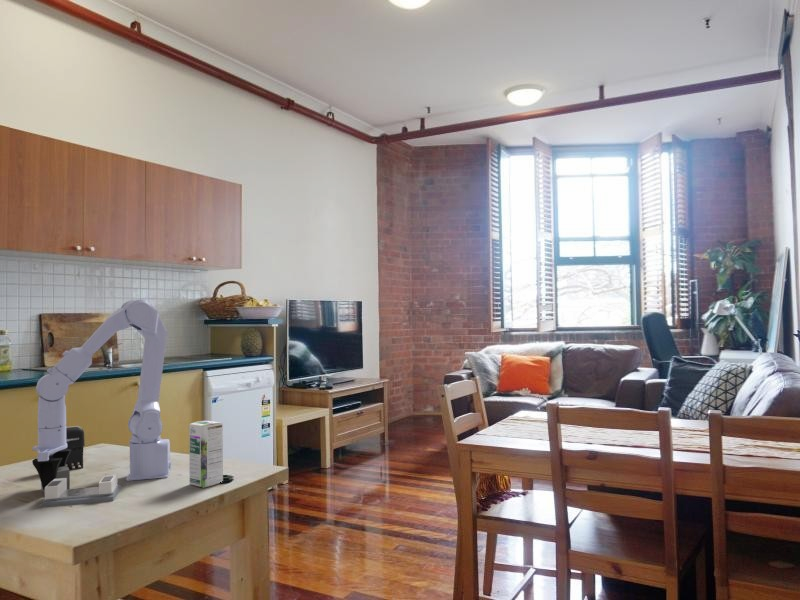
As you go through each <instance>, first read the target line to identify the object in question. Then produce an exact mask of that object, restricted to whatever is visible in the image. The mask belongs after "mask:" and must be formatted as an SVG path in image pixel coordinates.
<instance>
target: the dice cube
mask: <svg viewBox="0 0 800 600" xmlns="http://www.w3.org/2000/svg"><path fill="white" fill-rule="evenodd" d="M70 474H71V473H70V470H69V469H68V468H67V467H66V466H62V467H58V471H57V476H56V479H59V478H67V489H71V487H70V483H71V482H70V480H71V479H70ZM40 486H41V492H42V493H43V495H44V496H45V490H43V488H42V484H41V483H40ZM67 489H66V490H67Z"/></svg>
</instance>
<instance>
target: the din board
mask: <svg viewBox="0 0 800 600" xmlns="http://www.w3.org/2000/svg"><path fill="white" fill-rule="evenodd" d="M121 489H122V487H121V485H119V484H118V485H117V486H116V487H115V489H114V490H113V492H112V493H108V494H99V486H93V487H91V486H90V487H81V488H70V489H67V490H65V491H64V492H63V493H62V494H61V495H60V497H59V498H54V499H45V497H44V498H43V500H42V502H41V503H40V508H47V507H58V506H72V505H81V504H83V505H84V504H94V503H103V502H104V503H105V502H106V503H107V502H113V501H115V499H116V497H117V495H119V493H120V491H121Z"/></svg>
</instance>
